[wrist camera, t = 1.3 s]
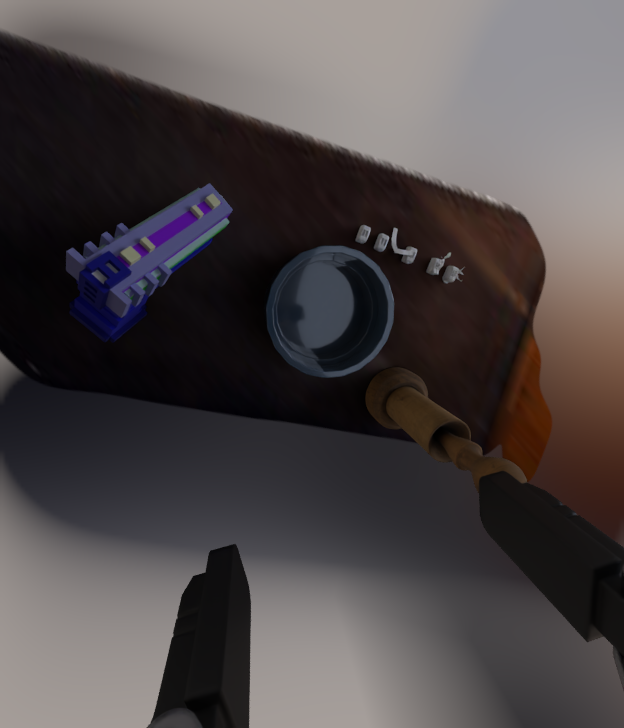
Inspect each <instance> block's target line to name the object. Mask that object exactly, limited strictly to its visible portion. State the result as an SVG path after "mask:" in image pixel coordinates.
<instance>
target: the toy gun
mask: <svg viewBox="0 0 624 728" xmlns="http://www.w3.org/2000/svg"><path fill="white" fill-rule="evenodd" d="M232 210H233V209H232V208H231V207H230V206H229V205H228V203H227V202H226V201H225V200H224V198H223V197H222V196H221V195H220V194H219V193H218V192H217V191H216V190H215V189H214V188H213V186H212V185H211V184H208V185H206V186H205V187H203V188H201V189H200V188H198V189H196V190H194V191H193V192H191V193H189V194H188V195H186V196H184V197H183V198H181V199H179V200H178V201H176V202H174V203H173V204H171V205H169V206H168V207H166V208H164V209H163V210H161V211H159V212H158V213H156V214H154V215H153V216H151V217H149V218H148V219H146V220H144V221H143V222H141V223H139V224H138V225H136V226H134V227H133V228H131V229H128V228H127V227H126V226H125V225H124V224H123V223H121V224H119V225H117V227H116V232H115V236H114V238H113V237H112V236H111V235H110V234H109V233H108V232H105V233H103V234H101V239H100V244H99V248H97V247H96V246H95V245H94V244H93V243H92V242H91V241H89V242H87V243H86V244H84V252H83V256H82V255H80V254H79V253H78V252H77V251H76V250H75V249H74V248H71V249H69V250H68V251H66V271H67V272H68V273H69V274H71V275H72V276H73V277H74V278H75V279H76V280H77V282H76V283H77V284H78V290H79V291H80V296H79V297H77V298H76V299H75V300H73V301H72V302H70V306H69V307H70V308H72V309H71V310H70V314H71V315H72V316H73V317H74V318H76V319H77V320H78V321H79V322H80V323H82V324H83V325H84V326H85V327H87V328H88V329H89V330H90V331H91V332H93V333H94V334H95V335H96V336H97V337H99V338H100V339H101V340H102V341H104V342H106V341H108V340H110V341H112V342H113V343H114V342H115V341H116V340H117V339H118V338H120V337H121V336H122V335H123V334H125V333H126V332H127V331H128V330H129V329H131V328H132V327H133V326H134V325H135V324H137V323H138V322H139V321H140V320H142V319H143V318H144V317H145V316H146V315H147V312H146V311H145V310H146V308H147V306H146V305H145V303H146V301H147V299H148V297H149V296H150V295H151V294H153V292H154V290H155V289H156V288H157V287H158V286H160V287H162V286H163V285H164V284H165V283H166V281H167V280H168V278H169V276H170V275H171V274H172V273H173V272H174V271H176V270H177V269H178V268H180V267H181V266H182V265H184V264H185V263H186V262H187V261H189V260H190V259H191V258H193V257H194V256H195V255H196V254H198V253H199V252H200V251H202V250H203V249H204V248H206V247H207V246H208V245H209V244H210V243H211V242H212V240H213V239H212V237H214V236H215V235H216V234H218V233H219V232H220V231H222V230H223V229H224V228H226V226H227V225H228V223H229V221H228V220H227V218H228V216H229V215H230V213H231V212H232Z"/></svg>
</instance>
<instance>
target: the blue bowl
mask: <svg viewBox="0 0 624 728" xmlns="http://www.w3.org/2000/svg"><path fill="white" fill-rule="evenodd" d="M263 306H264V321H265V324H266V327H267V329H268V332H269V334H270V337H271V339H272V342H273V344H274V347H275V349H276V350H277V351H278V352H279V354H280V355H281V356H282V357H283V358H284V359H285V361H286V362H287V363H288V364H290V365H291V366H293V367H295V368H296V369H298V370H299V371H301V372H303V373H305V374H308V375H312V376H317V377H321V378H330V377H341V376H345V375H347V374H350V373H352V372H355V371H357V370H360V369H361V368H362V367H364V366H365V365H366V364H367V363H369V362H370V361H371V360H372V359H374V358H375V357H376V356H377V354H378V353H379V351H380V350H381V348H382V347H383V346H384V344H385V343H386V341H387V339H388V336H389V333H390V330H391V327H392V324H393V319H394V299H393V296H392V292H391V288H390V284H389V281H388V280H387V278H386V277H385V275H384V274H383V272H382V270H381V269H380V267H379V266H378V265H377V264H376V263H375V262H374V261H372V260H371V259H370V258H369V257H367V256H366V255H365V254H364V253H362V252H360V251H357V250H354V249H351V248H348V247H346V246H342V245H332V246H319V247H316V248H313V249H310V250H308V251H305V252H302V253H300V254H298V255H295V256H293V257H292V258H291V259H289V260H288V261H287V262H286V263H284V264H283V265H282V266H281V267H279V269H277V271H276V273H275V274H274V276H273V277H272V279H271V281H270V282H269V284H268V286H267V290H266V294H265V298H264V302H263Z"/></svg>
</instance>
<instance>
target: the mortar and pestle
mask: <svg viewBox="0 0 624 728" xmlns="http://www.w3.org/2000/svg"><path fill="white" fill-rule="evenodd" d="M365 400H366V406H367V409H368V411H369V412H370V414H371V415H372V416H373V417H374V418H375V419H376V420H377V421H378V422H379V423H380V424H381V425H383V426H384V427H387V428H390V429H401V428H403V429H404V430H405V431H406V432H407V433H408V434H409V435H410V436H411V437H412V438H413V439H414V440H415V441H416V442H417V443H418V444H419V445H420V446H422V448H423V449H424V450H425V451H427V453H428V454H429V455H431V456H432V457H433V458H434V459H435V460H437V461H439V462H453V463H454V464H455V465H456V467H458V468H459V469H461V470H470V471H471V472H472V476H473V480H474V484H475V487H476V489H477V491H478V493H479V479H480V477H482V476H485V475H489V474H493V473H496V472H500V471H505V472H507V473H509V474H510V475H512V476H513V477H514V478H515V479H517V480H518V481H519V482H521V483H527V480H526V477H525V475H524V474H523V472H522V471H521V469H520V468H519V467H518V466H517V465H515V464H514V463H512V462H511V461H509V460H506V459H503V458H496V457H484V456H482V449H481V447H480V446H479V445H478V444H476V443H474V442H472V441H471V433H470V429H469V427H468V426H467V425H466V424H465V423H464V422H463V421H461V420H460V419H458V418H457V417H455V416H454V415H452V414H451V413H449V412H448V411H446V410H445V409H443V408H442V407H440V406H439V405H437V404H436V403H434V402H433V401H431V400H430V399H428V391H427V387H426V385H425V383H424V382H423V380H422V379H421V378H420V377H419V376H417V375H416V374H414V373H412V372H411V371H409V370H407V369H405V368H401V367H392V368H388V369H385V370H383V371H381V372H380V373H378V374H377V375H376V376H375V377H374V378H373V379H372V380H371V382H370V384H369V386H368V388H367V391H366V397H365Z"/></svg>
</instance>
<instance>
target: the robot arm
mask: <svg viewBox="0 0 624 728" xmlns="http://www.w3.org/2000/svg"><path fill="white" fill-rule="evenodd" d="M479 498H480V499H479V501H480V517H481V521H482V523H483V525H484V528H485V529H486V531H487V533H488V534H489V535H490V536H491V538H492V539H493V540H494V541H495V542H496V543H497V544H498V545H499V546H500V547H501V548H502V550H503V551H504V552H505V553H506V554H507V555H508V556H509V557H510V558H511V559H512V560H513V562H514V563H515V564H516V565H517V566H518V567H519V568H520V569H521V570H522V571H523V572H524V574H525V575H526V576H527V577H528V578H529V579H530V580H531V581H532V582H533V583H534V584H535V586H536V587H537V588H538V589H539V590H540V591H541V592H542V593H543V594H544V595H545V597H546V598H547V599H548V600H549V601H550V602H551V603H552V604H553V605H554V606H555V607H556V608H557V610H558V611H559V612H560V613H561V614H562V615H563V616H564V617H565V618H566V619H567V621H569V623H570V624H571V625H572V626H573V627H574V628H575V629H576V630H577V632H578V633H579V634H580V635H581V636H582V637H583V638H584V639H585V640H586V641H587V642H589V641H592V640H595V639H598V638H600V637H603V636H604V637H605V638H606V639H607V640H608V641H609V642H610V643H611V644H612V645H613V655H614V660H615V663H616V667H617V670H618V673H619V677H620V680H621V683H622V687H623V690H624V548H623V547H622V546H621V545H619V544H618V543H617V542H615V541H614V540H613V539H611V538H610V537H608V536H607V535H606V534H604V533H603V532H602V531H600V530H599V529H597V528H596V527H595V526H593V525H592V524H591V523H589V522H588V521H586V520H585V519H584V518H582V517H581V516H579V515H578V516H577V515H576V513H575V512H574V511H573V510H571V509H570V508H569V507H567V506H566V505H563V504H562V502H560V501H559V500H558V499H556V498H555V497H554V496H552V495H551V494H549V493H548V492H547V491H545V490H542V489H540V488H538V487H536V486H533V485H531V484H529V483H521V482H519V481H518V480H517V479H515V478H514V477H513V476H512V475H510V474H509V473H507V472H505V471H500V472H496V473H493V474H489V475H485V476H482V477H480V479H479ZM177 616H178V618H177V619H176V623H175V627H174V632H173V634H174V636H173V637H172V640H171V644H170V649H169V653H168V657H167V662H166V666H165V670H164V674H163V679H162V683H161V688H160V692H159V696H158V700H157V705H156V709H155V712H154V716H153V718H152V721H151V724H150V725H149V726H148V727H147V728H249V692H250V626H251V600H250V591H249V585H248V581H247V577H246V574H245V571H244V568H243V564H242V561H241V558H240V554H239V551H238V548H237V546H236V544H233V545H229V546H226V547H222V548H219V549H215V550H211V551H210V552H209V556H208V562H207V568H206V573H202V574H199V575H195V576H193V578H192V579H191V581H190V582H189V584H188V586H187V588H186V589H185V591H184V593H183V594H182V597H181V602H180V606H179V610H178V615H177Z"/></svg>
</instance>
